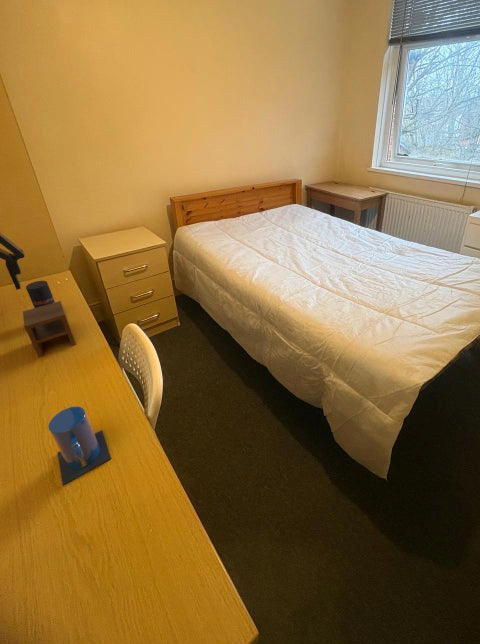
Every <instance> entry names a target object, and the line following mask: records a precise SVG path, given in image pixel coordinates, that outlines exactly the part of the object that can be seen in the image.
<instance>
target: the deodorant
mask: <svg viewBox="0 0 480 644" xmlns="http://www.w3.org/2000/svg"><path fill="white" fill-rule="evenodd" d="M25 290H26V292H27V294H28V296H29V298H30V301H31V303H32V305H33V307H34V308H37V307H41V306H44V305H48V304H51V303H55V302H56V301H55V298H54V296H53V294H52V290H51V288H50V285H49V284H48V281H47V280H37V281H33V282H30V283H28V284H27V285H26V286H25Z"/></svg>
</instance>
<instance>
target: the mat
mask: <svg viewBox="0 0 480 644" xmlns="http://www.w3.org/2000/svg"><path fill="white" fill-rule="evenodd" d="M94 434H95V436H96V438H97V441H98V443H99V446H100V452H99V455H98V456H97V458H96V459H95V460H94V461H93V462H92V463H91V464H89V465H88V466H86V467H84V468H81V469H71V468H69V467H68V466H67V464H66V462H65V460H64V458H63V456H62V454H61V452H60V450H59V451H57V458H58V464H59V470H60V476H61V477H60V478H61V484H62V486H65V485H67V484H69V483H72V482H73V481H74V480H76V479H78V478H80V477H82V476H84V475H85V474H87V473H89V472H91V471H93V470H94V469H96V468H99V467H100V466H101V465H103V464H105V463H107V462H109V461H111V460H112V458H111V454H110V451H109V447H108V444H107V440H106V438H105V434H104V430H99V431H97V432H94Z"/></svg>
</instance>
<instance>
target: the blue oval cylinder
mask: <svg viewBox="0 0 480 644" xmlns="http://www.w3.org/2000/svg"><path fill="white" fill-rule="evenodd" d="M47 428H48V431H49V434H50V435H51V436H52V439H53V441H54V442H55V444H56V446H57V448H58V450H59V451H60V452H61V454H62V456H63V458H64V460H65V462H66V464H67V466H68V467H69V468H71V469H81V468H84V467H86V466H88V465H89V464H91V463H92V462H93V461H94V460H95V459H96V458H97V456H98V455H99V452H100V446H99V443H98V441H97V438H96V436H95V432H94V428H93V427H92V425H91V422H90V419H89V417H88V414H87V412H86V410H85V409H84V408H83V407H82V406H71V407H67V408H65V409H62V410H61V411H59V412H57V413H56V414H55V415H54V416H52V418H51V419H50V421H49V422H48V427H47Z"/></svg>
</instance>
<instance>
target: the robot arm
mask: <svg viewBox="0 0 480 644" xmlns="http://www.w3.org/2000/svg"><path fill="white" fill-rule="evenodd" d="M0 245H1V246H3V247H4V248H5V249H7V250H8V251H7V250H5V249H3V248H1V247H0V259H1V260H4V261H5V267H6V269H7V271H8V274H9V276H10V279H11V281H12V283H13V285H14V287H15V289H16V290H21V289H22V288H21V287H22V286H21V283H20V280H19V278H18V276H17V275H21V273H22V270H21V268H20V265H19V263H18V260H20V259H23V258H25V251H24V250H23V249H22V248H20V247H19V246H18V245H17V244H16V243H14V242H13V241H12V240H11V239H9V238H8V237H7V236H5V234H3V233H2V232H0Z"/></svg>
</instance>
